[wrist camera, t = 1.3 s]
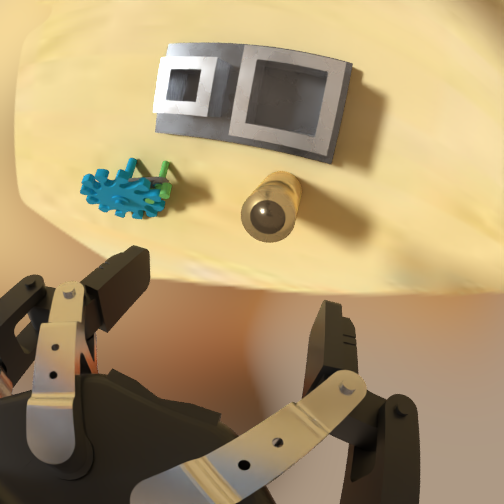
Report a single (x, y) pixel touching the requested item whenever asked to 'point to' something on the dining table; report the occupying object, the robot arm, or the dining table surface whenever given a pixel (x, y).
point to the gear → (127, 191)
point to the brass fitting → (272, 207)
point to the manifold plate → (253, 96)
